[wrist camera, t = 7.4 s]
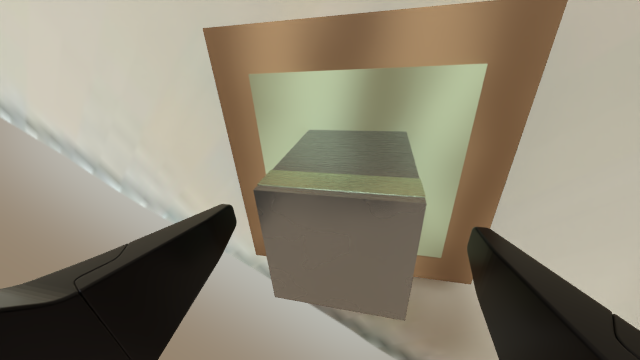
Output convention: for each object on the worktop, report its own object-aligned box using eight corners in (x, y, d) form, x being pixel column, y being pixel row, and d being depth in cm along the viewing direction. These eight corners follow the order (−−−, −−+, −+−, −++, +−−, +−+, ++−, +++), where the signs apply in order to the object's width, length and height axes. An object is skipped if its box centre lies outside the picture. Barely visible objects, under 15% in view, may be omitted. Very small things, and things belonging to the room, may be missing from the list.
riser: (524, 6, 11) (574, -9, 8) (457, 248, 17) (471, 287, 14) (236, 32, 14) (199, 27, 11) (272, 228, 20) (255, 256, 17)
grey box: (407, 131, 11) (427, 203, 6) (396, 214, 13) (405, 321, 8) (308, 129, 12) (252, 189, 7) (314, 207, 14) (274, 296, 9)
